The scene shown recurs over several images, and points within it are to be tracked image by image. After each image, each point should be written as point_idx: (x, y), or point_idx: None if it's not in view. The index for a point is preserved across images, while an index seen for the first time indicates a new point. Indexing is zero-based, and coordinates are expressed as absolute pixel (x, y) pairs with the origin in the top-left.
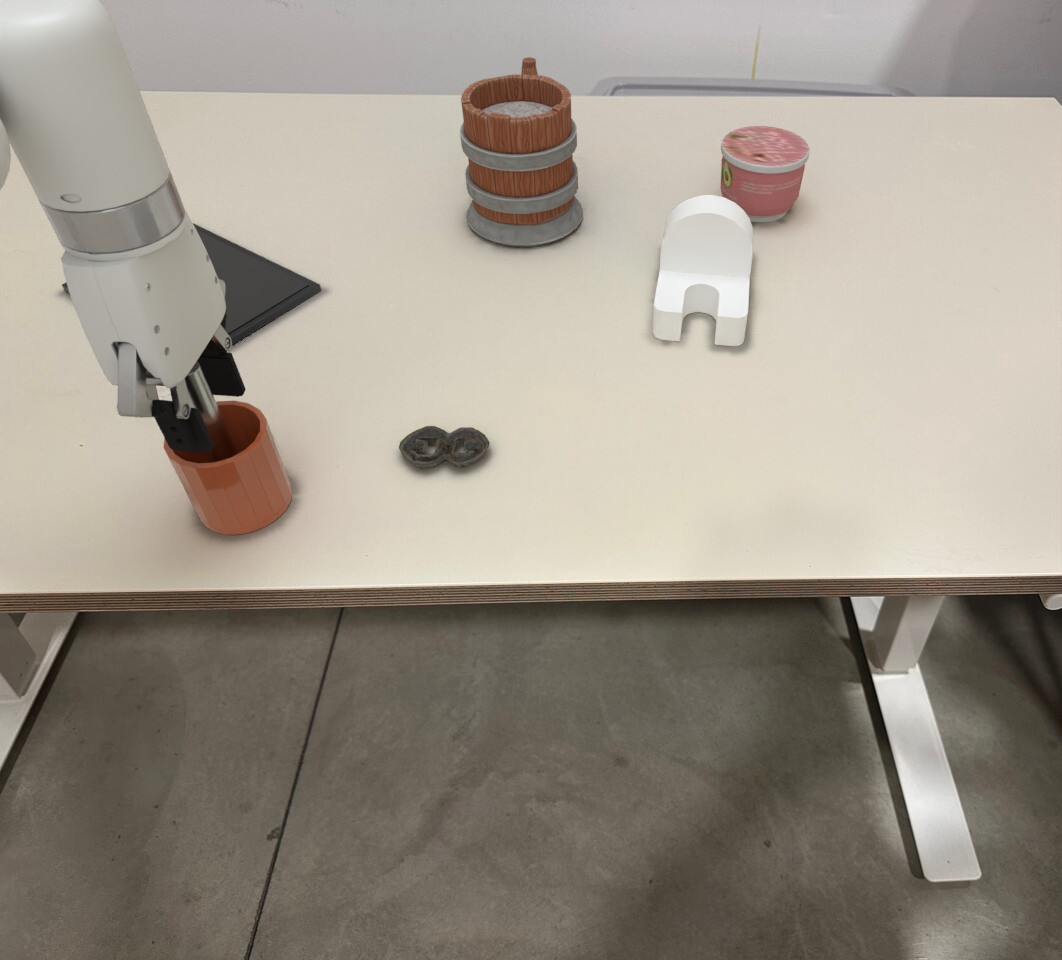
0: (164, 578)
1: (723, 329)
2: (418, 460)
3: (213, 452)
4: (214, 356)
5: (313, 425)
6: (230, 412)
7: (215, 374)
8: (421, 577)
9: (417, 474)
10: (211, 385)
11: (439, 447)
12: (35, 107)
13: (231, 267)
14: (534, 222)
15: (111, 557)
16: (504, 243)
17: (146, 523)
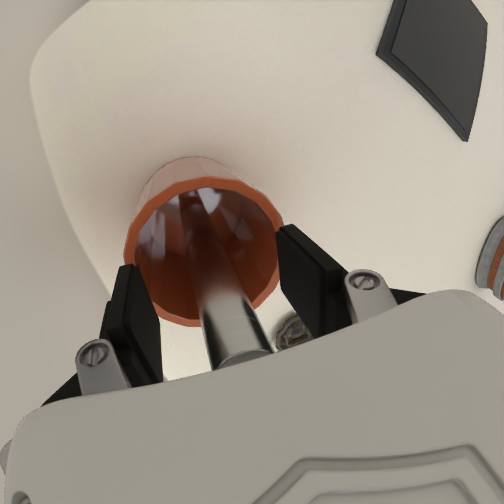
0: (69, 197)
1: None
2: (282, 335)
3: (186, 247)
4: (325, 324)
5: (318, 216)
6: (270, 230)
7: (299, 290)
8: (169, 380)
9: (269, 334)
10: (286, 258)
11: (299, 341)
12: None
13: (470, 61)
14: (488, 278)
15: (74, 121)
16: (481, 257)
17: (127, 121)
